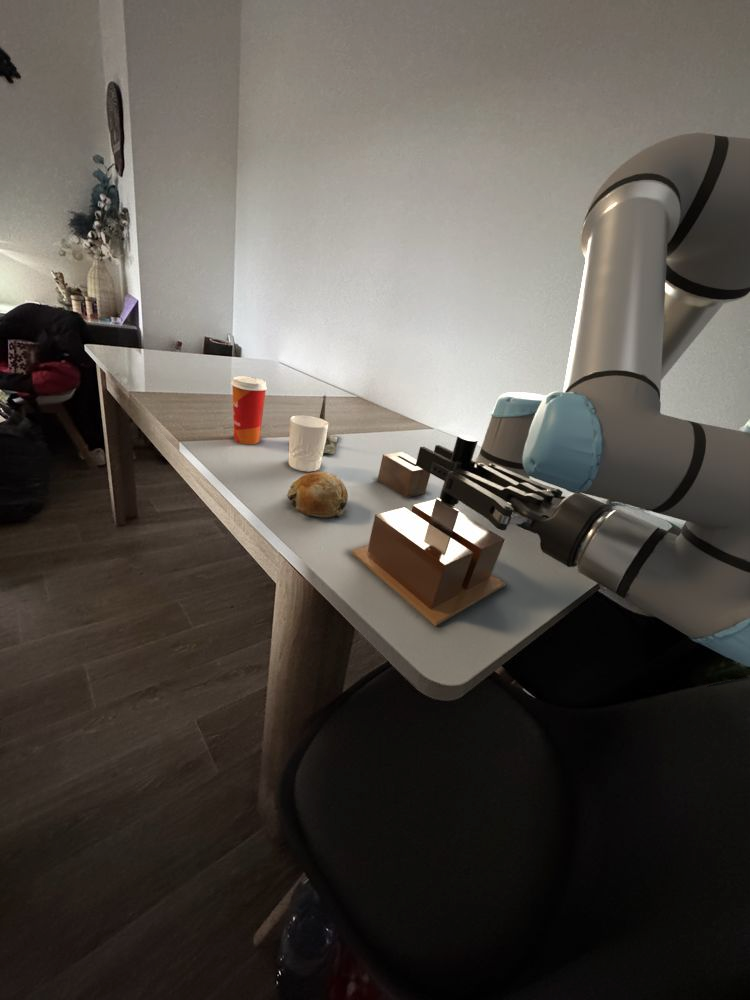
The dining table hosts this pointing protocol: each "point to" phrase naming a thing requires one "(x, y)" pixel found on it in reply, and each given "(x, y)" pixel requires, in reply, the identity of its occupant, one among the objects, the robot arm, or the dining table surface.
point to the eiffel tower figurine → (330, 441)
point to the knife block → (403, 474)
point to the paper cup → (248, 408)
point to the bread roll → (318, 495)
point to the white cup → (306, 442)
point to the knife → (443, 507)
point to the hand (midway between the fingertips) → (427, 455)
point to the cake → (433, 560)
